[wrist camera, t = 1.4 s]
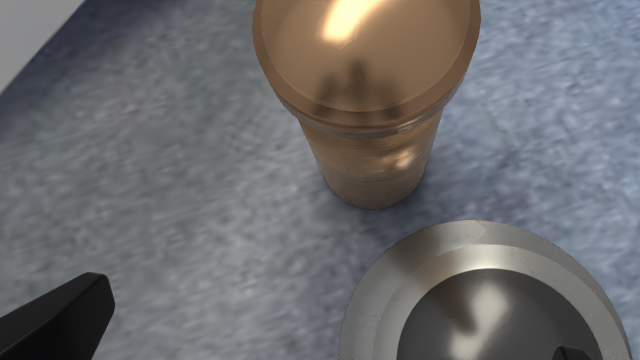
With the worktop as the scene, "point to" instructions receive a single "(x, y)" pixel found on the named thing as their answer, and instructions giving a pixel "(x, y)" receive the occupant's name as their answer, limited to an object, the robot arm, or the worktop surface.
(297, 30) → the copper capped cylinder
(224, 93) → the worktop surface
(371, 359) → the ring
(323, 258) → the worktop surface
